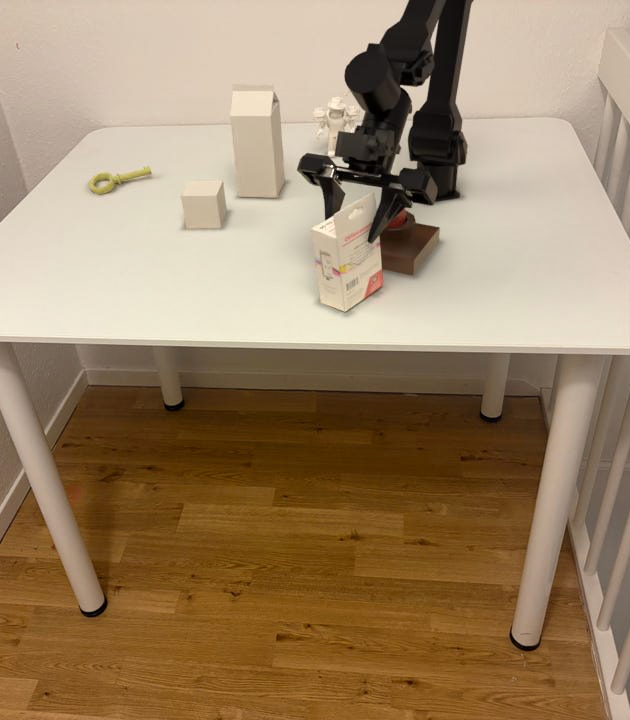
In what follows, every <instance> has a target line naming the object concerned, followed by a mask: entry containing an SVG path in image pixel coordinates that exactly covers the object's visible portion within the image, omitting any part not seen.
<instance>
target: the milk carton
mask: <svg viewBox="0 0 630 720" xmlns="http://www.w3.org/2000/svg"><path fill="white" fill-rule="evenodd" d="M274 86H275V85H274V84H271V83H268V84H267V83H266V84H265V83H264V84H263V83H260V84H259V83H258V84H255V83H251V84H250V83H248V84H245V83H244V84H243V83H241V84H238V83H237V84H235V83H234V84H232V97H231V104H230V110H229V120H230V128H231V130H230V131H231V137H232V145H233V154H234V164H235V172H236V173H235V174H236V180H237V181H236V182H237V189H238V196H239V197H240V198H266V199H267V198H269V199H278V196H279V195H280V192H281V191H282V188H283V186H284V184H285V181H286V175H285V161H284V145H283V133H282V119H281V118H282V117H281V106H280V105H281V104H280V100H279V98H278V96H277V94H276V92H275V88H274Z"/></svg>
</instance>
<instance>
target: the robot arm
mask: <svg viewBox="0 0 630 720" xmlns="http://www.w3.org/2000/svg"><path fill="white" fill-rule="evenodd" d="M474 1H475V0H408V1H407V3H406V6H405V8H404V11H403V13H402V16H401V17H400V19H399V21H397V22H396V23H394V24H393V25H392V26H390V27H389V28H387V29H386V30H385V32H384V34H383V35H382V38H381V39H380V41H379V42H378V43H375V42H369V43H368V44H367V46H366V47H367V48H366V50H365V51H361V52H360V53H358V54H357V55H355V56H354V57H353V58H352V59H351V60H350V61H349V63H348V64H347V65H346V67H345V69H344V74H343V75H344V76H343V77H344V78H343V79H344V82H345V85H346V87H347V88H348V91H351V92H350V94H352V96H353V97H354V99H355V101H356V103H357V104H358V105H359V107H360V108H361V110H363V111H364V115H363V118H362V121H361V124H360V125H358V124H357V125H356V128H355V131H354V133H350V131H349V132H348V131H345V132H342V131H338V136H337V137H336V142H335V148H336V149H335V157H337V158H341V160H342V162H343V163H344V164H347V165H348V167H347V166H341V165H337V164H335V162H334V161H333V160H332V157H329V156H328V155H325V154H317V153H311V152H306V153H304V154H303V156H301V158H299V161H298V164H297V167H296V171H297V172H298V173H299V174H300V175H301V176H302V177H303V179H305V180H306V181H307V182H308V183H309V185H312V186H315V187H319V188H320V189H321V191H322V196H323V205H324V207H323V208H324V221H325V220H327V219H329V218H331V217H332V216H334V214H335V213H337V212H339V211H340V210H342V206H343V203H344V200H345V197H346V192H345V191H344V190H343V189H342V188H341V187H342V185H343V182H345V183H350V184H357V185H362V186H368V187H375V188H381V193H380V200H379V204H378V206H377V212H376V215H375V218H374V220H373V223H372V226H371V228H370V232H369V236H368V243H370V244H372V243H373V242H374V241H375V240H376V238H377V237H378V236H379V235H380V234H381V233H382V231H383V230H384V229H385V228H386V227H387V225H388V224H389V223H390V222H391V221H392V220H393V219H394V218H395V217H396V216H397V215H398V214H399V213H400V212H401V211H403V210H404V209H405V210H406V208H407V209H411V208H412V209H413V206H414V204H419V205H424V206H434V205H435V202H441V201H446V200H450V199H455V198H460V197H461V192H459V191H458V190H457V181H458V169H459V166H464V165H466V164H467V155H468V147H469V146H468V145H469V144H468V142H467V140H466V137H465V135H464V132H463V131H462V129H463V118H462V115H461V112H460V110H459V108H458V104H457V96H458V91H459V90H458V88H459V84H460V83H459V82H460V77H461V70H462V64H463V58H464V53H465V45H466V41H467V40H466V38H467V35H468V34H467V33H468V27H469V21H470V15H471V8H472V4H473V2H474ZM436 26H437V28H436ZM435 29H436V34H435V41H434V48H433V45H432V42H431V41H432V37H433V35H434V32H435ZM428 79H429V82H428V88H427V96H426V100H425V101H424V103H423V104H422V106H421V107H419V110H418V109H417V110H416V111H414V114H413V115H412V125H411V127H410V128H409V130H408V131H409V132H408V134H407V146H408V147H407V148H408V156H409V161H410V162H416V168H410V167H403V168H402V169H400V171H399V174H398V175H397V174H392V169H393V165H394V162H395V159H396V156H397V155H400V154H401V150H402V146H401V145H400V143H401V140H402V137H403V132H404V130H405V126H406V124H407V120H408V117H409V115H411V114H412V113H413V104H412V103H413V100H412V99H411V96H410V94H409V92H407V90H406V89H405V88H403V87H413V88H417V87H422V86H423V85H424V84H425V83H426V80H428ZM401 86H403V87H401Z"/></svg>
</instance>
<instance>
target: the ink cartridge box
mask: <svg viewBox="0 0 630 720" xmlns="http://www.w3.org/2000/svg"><path fill="white" fill-rule="evenodd" d="M377 209H378V207H377V202H376V195H375V192H374V191H371V192H370V193H368V194H366V195H364V196H362V197H360V198H359V199H357V200H355V201H353V202H352V203H350V204H348V205H347V206H345V207H343V208H341V209H340V211H339V212H337V213H335V214H334V216H332V217H331V218H329V219H327V220H325V219H324V221H322V222H320V223H318V224H317V225H315V226H313V227H311V228H310V233H311V241H312V248H313V255H314V263H315V270H316V271H315V272H316V277H317V284H318V292H319V299H320V300H319V301H320V303H321V304H324V305H326V306H328V307H331V308H334V309H336V310H339V311H342V312H347V311H349V310H350V309H351V308H353V307H355V306H356V305H357V304H359V303H360V302H361V301H363V300H364V299H366V298H367V297H369V296H371V295H372V294H373V293H374V292H376V291H377V290H379V289H380V288H381V287H382V286H383V285H384V281H383V269H382V264H381V250H380V235H379V236H378V237H377V238H376V240H375V241H374V242H373V243H372V244H370V243H368V236H369V232H370V228H371V226H372V223H373V220H374V218H375V215H376V212H377Z"/></svg>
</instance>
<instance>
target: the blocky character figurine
mask: <svg viewBox="0 0 630 720" xmlns="http://www.w3.org/2000/svg"><path fill="white" fill-rule="evenodd" d="M350 95H351V91H350V90H348V91H347V92H345V93H341V97H340V96H332V97H331V99H330V101H329V102H327V110H326V111H325V109H324V107H323V106H322V107H321V106H320V105H319V107H315V108H314V111H313V112H312V115H313V121H315V120H316V121H317V122H318V123H319V125H318V128H317V131H316V133H315V136H316V139H317V140H319V139H320V135H322V136H324V129H325V127H327V128H328V129H329V130H328V147H327V156H329V157H330V158H334V157H335V158H336V156H335V149H336V143H337V136H338V131H342V132H346V131H345V127H346V126H347V124H348V125H349V127H350V130H349V132H350V133H354V131H355V128H356V127H357V125H356V123H355V120H357V118H358V117H360V112H361V111H360V109H359V106H357V105H352V104H351V105H348V109H346V107H347V103H346V102H344V100H346V98H347V97H349V96H350ZM352 117H353V118H352ZM320 119H321V120H320Z"/></svg>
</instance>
